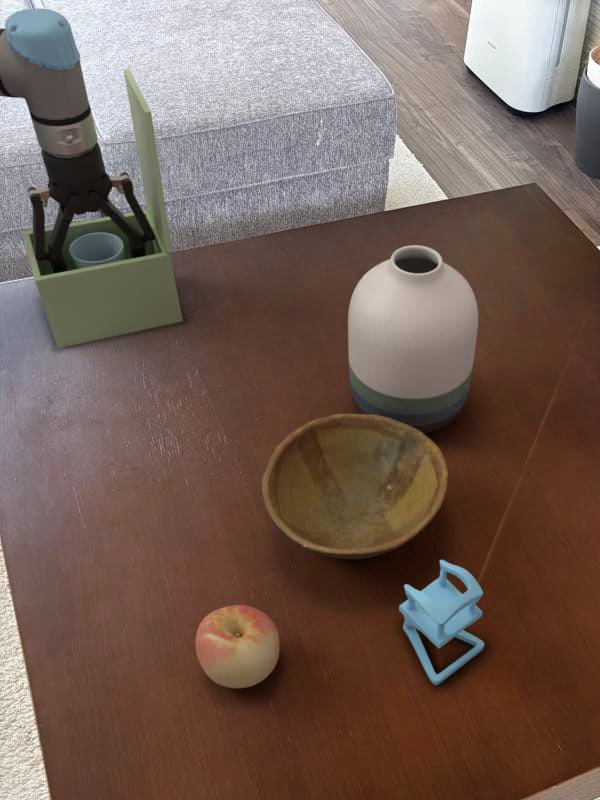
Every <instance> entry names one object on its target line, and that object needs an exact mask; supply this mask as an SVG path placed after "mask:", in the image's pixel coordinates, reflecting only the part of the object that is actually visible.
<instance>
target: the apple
mask: <svg viewBox="0 0 600 800" xmlns="http://www.w3.org/2000/svg"><path fill="white" fill-rule="evenodd" d="M280 646H281V645H280V635H279V632H278V628H277V626H276V624H275V623H274V621H273V620H272V619H271V618H270V616H269V615H267V614H266V613H265V612H263V611H261V610H259V609H258V608H256V607H253V606H251V605H250V606H249V605H244V604H234V605H229V606H224V607H221V608H218V609H215V610H213V611H211V612H210V613H208V614H207V615H206V616H205V617H204V618H203V619H202V620H201V622H200V624H199V626H198V628H197V630H196V634H195V652H196V657H197V659H198V662H199V664H200V666H201V668H202V670H203V671H204V672H205V674H206V675H207V677H208V678H209V679H210V680H211V681H213V682H214V683H215V684H217V685H220V686H222V687H225V688H230V689H245V688H250V687H253V686H255V685H257V684H259V683H261V682H263V681H264V680H265V679H266V678H267V677H268V676H270V674H271V673H272V672H273V671H274V669H275V667H276V665H277V664H278V660H279V656H280V649H281V647H280Z"/></svg>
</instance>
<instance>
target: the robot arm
mask: <svg viewBox="0 0 600 800" xmlns="http://www.w3.org/2000/svg"><path fill="white" fill-rule="evenodd" d="M81 62H82V61H81V54H80V51H79V50H78V47H77V44H76V40H75V37H74V34H73V30H72V27H71V23H70V22H69V21H68V19H67V18H66V17H65V16H64V15H63V14H61V13H60V12H57V11H55V10H52V9H48V8H39V7H38V8H35V9H30V8H26V9H22V10H18V11H15V12H14V13H12V14H10V15H9V16H7V18H6V20H5V21H4V28H1V27H0V97H5V98H13V99H24V101H25V103H26V106H27V108H28V112H29V115H30V119H31V123H32V126H33V129H34V133H35V136H36V140H37V143H38V146H39V148H40V154H41V157H42V161H43V164H44V167H45V171H46V174H47V177H48V184H47V187H42V188H36V187H34V186H30V187H28V188H27V193H28V198H29V201H30V203H31V206H32V230H33V250H34V254H35V257H36V260H38V261H43V260H48V261H49V262H50V263H51V265H52V268H53V271H54V274H55V273H60V272H65V271H68V270H67V267H66V264H65V260H64V257H63V254H62V252H61V251H62V248H63V245H64V241H65V238H66V235H67V232H68V229H69V225H70V223H73V219H74V215H76V216H80V215H81V216H82V215H84V214H86V213H98V212H100V211H102V212H103V213H104V214H105V216H106V217H110V218H111V220H112V221H113V222H114V223H115V224H116V225H117V226H118V227H119V228H120V229H121V230H122V231H123V232H124V233H125V234H126V235H127V236H128V237H129V238H130V240H128V241H129V246H130V250H131V255H132V259H133V258H138V257H143V256H146V252H145V243H146V242H147V241H153V240H154V239H155V235H154V232H153V230H152V228H151V226H150V224H149V222H148V220H147V218H146V216H145V214H144V212H143V210H144V209H142V207H141V205H140V202H139V201H138V198H137V197H136V195H135V194H134V185H133V182H132V179H131V177H130V175H129V174H128V172H126V171H123V172H121V173H120V174H119V175H118V176H110V175H109V174H108V172H107V171H106V167H105V162H104V158H103V155H102V150H101V145H100V143H99V142H98V140H99V137H98V134H97V128H96V125H95V120H94V117H93V112H92V107H91V103H90V101H89V97H88V92H87V87H86V84H85V83H86V82H85V78H84V74H83V69H82V65H81ZM113 188H115V189H116V190H117V192H118V193H119V194H121V195H124V197H125V200H126V202H127V204H128V206H129V208H130V210H131V211H132V212H133V213H134V215H135V217H136V219H137V220H138V222H139V224H140V226H141V228H142V230H140V231H138V230H137V229H136V228H135V227H134V226H133V225H132V224H131V223H130V222H129V221H128V219H127V218H126V217H125V216H124V215H123V214H124V213H122V212H121V211H120V210H119V208H118V207H117V206H116V205H115V204H114V203H113V202H112V201H111V200H110V198H109V195H110V194H111V192H112V189H113ZM50 198H51V199H53V200H54V201H55V202H56V203H58V204H59V205H58V212H57V215H56V218H55V221H54V225H53V226H54V228H53V231H52V235H51V238H50V241H49V245H48V247H47V246H46V247H45V228H46V214H45V213H46V212H45V209H44V208H46V207H47V206H48V204H49V202H48V201H49V199H50Z"/></svg>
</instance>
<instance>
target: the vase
mask: <svg viewBox="0 0 600 800" xmlns="http://www.w3.org/2000/svg"><path fill="white" fill-rule="evenodd" d="M478 308H479V307H478V303H477V300H476V296H475V292H474V291H473V289H472V287H471V285H470V284H469V282H468V281H467V279H466V278H465V277H464V276H463V275H462V274H461V273H460V272H459V271H458V270H456V269H455V268H454V267H452V266H450V265H449V264H447V263H445V262H444V261H443V257H442V255H441V254H440V253H439V252H438V251H436V250H435V249H433V248H431V247H428V246H424V245H419V244H418V245H417V244H416V245H414V244H412V245H411V244H410V245H405V246H402V247H399V248H398V249H396V250H395V251H394V252H393V253H392V254H391V256H390V258H389V259H387V260H384V261H382V262H380V263H378V264H376V265H375V266H373V267H372V268H371V269H370V270H368V271H367V272H366V273H365V274H364V275H363V276H362V277H361V278H360V280H358V283H357V285H356V286H355V288H354V290H353V293H352V295H351V299H350V301H349V306H348V313H347V314H348V315H347V343H348V345H347V346H348V347H347V348H348V349H347V351H348V379H349V388H350V393H351V396H352V399H353V402H354V403H355V406H356V408H357V409H358V411H359V412H360V414H366V415H379V416H383V417H387V418H391V419H393V420H396V421H398V422H401V423H404V424H406V425H409V426H411V427H413V428H415V429H417V430H419V431H420V432H422V433H423V434H424V435H426V434H429V433H433V432H436V431H438V430H440V429H443V428H444V427H446V426H447V425H448V424H450V423H451V422H452V421H453V420H454V419H456V417H457V416H458V415H459V413H460V412H461V410H462V409H463V407H464V405H465V404H466V402H467V399H468V395H469V392H470V387H471V381H472V374H473V368H474V359H475V353H476V346H477V339H478V330H479V329H478V328H479V309H478Z"/></svg>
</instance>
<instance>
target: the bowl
mask: <svg viewBox="0 0 600 800" xmlns="http://www.w3.org/2000/svg"><path fill="white" fill-rule="evenodd" d="M448 480H449V470H448V465H447V461H446V458H445V457H444V455H443V452H442V450H441V449H440V448H439V446H438V445H437V444H436V443H435V442H434V441H433V440H432V439H431V438H429V437H428V436H427V435H426V434H423V433H422V432H420V431H419V430H417V429H415V428H413V427H411V426H409V425H406V424H404V423H401V422H398V421H396V420H393V419H391V418H387V417H383V416H379V415H366V414H362V413H337V414H331V415H329V416H324V417H320V418H316V419H312V420H311V421H308V422H306V423H304V424H303V425H301V426H299V427H298V428H296V429H295V430H293V431H291V432H290V433H289V434H288V435H287V436H286V437H284V439H282V441H281V442H280V443H279V444H278V445H277V446H276V447H275V448H274V451H273V453H272V454H271V456H270V458H269V460H268V463H267V466H266V467H265V470H264V472H263V474H262V477H261V495H262V496H261V497H262V500H263V504H264V506H265V509H266V512H267V513H268V516H269V519H270V520H271V522H272V523H273V524H274V525H275V526H276V528H277V529H278V530H279V531H280V533H282V534H283V536H284V537H286V538H287V539H288V540H289V541H291V542H292V543H294V544H296V545H297V546H298V547H300V548H303V549H306V550H307V551H310V552H313V553H315V554H318V555H319V556H320V555H321V556H324V557H328V558H334V559H342V560H361V559H369V558H373V557H378V556H380V555H384V554H388V553H389V552H393V551H394V550H397V549H398V548H401V547H402V546H403V545H405V544H406V543H408V542H409V541H411V540H413V538H415V537H416V536H417V535H418V534H419V533H421V532H422V531H423V530H424V529H425V528H426V527H427V526H428V525H429V524H430V523H431V522H432V521H433V520H434V519H435V517H436V516H437V514H438V512H440V511H439V510H440V509H441V507H442V505H443V502H444V499H445V496H446V493H447V489H448V485H449V481H448Z"/></svg>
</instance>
